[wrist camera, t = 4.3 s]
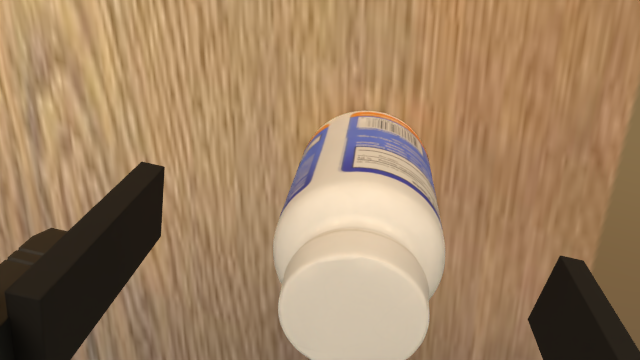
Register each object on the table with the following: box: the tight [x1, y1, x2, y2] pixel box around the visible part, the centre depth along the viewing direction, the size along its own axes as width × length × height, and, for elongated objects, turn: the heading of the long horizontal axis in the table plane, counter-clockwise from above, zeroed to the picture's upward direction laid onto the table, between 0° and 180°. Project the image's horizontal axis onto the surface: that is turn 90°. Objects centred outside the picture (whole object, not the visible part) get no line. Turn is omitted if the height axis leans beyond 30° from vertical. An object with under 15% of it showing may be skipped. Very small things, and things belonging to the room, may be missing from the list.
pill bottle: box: [273, 111, 445, 360], centre depth 17 cm, size 5×5×10 cm
